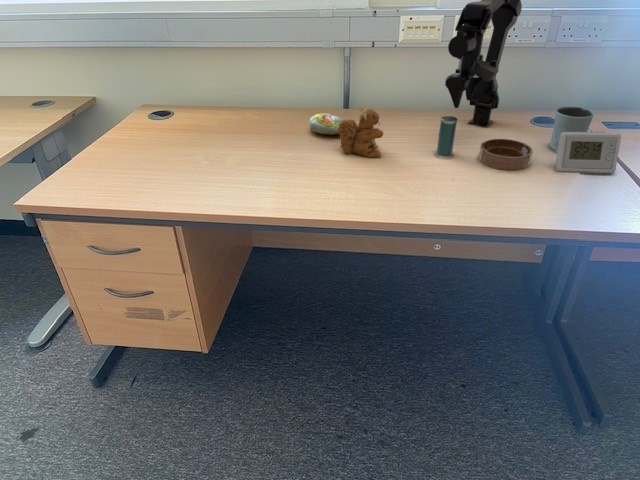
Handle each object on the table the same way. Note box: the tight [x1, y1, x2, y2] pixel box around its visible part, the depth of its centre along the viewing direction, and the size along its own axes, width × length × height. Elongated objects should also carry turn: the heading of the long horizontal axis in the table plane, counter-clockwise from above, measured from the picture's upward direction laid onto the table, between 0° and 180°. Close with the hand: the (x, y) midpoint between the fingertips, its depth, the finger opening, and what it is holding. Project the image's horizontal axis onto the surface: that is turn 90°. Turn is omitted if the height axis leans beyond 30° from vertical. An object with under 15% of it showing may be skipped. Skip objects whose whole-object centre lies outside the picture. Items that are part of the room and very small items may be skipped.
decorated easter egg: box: [308, 113, 343, 136], centre depth 157 cm, size 11×8×15 cm
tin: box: [436, 115, 459, 157], centre depth 137 cm, size 5×5×12 cm
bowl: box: [478, 138, 534, 172], centre depth 134 cm, size 14×14×4 cm
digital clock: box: [554, 131, 622, 175], centre depth 127 cm, size 16×9×11 cm, turn 72°
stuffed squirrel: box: [337, 108, 384, 158], centre depth 140 cm, size 10×14×13 cm
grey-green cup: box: [549, 105, 595, 152], centre depth 139 cm, size 10×10×12 cm
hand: (462, 103), depth 143 cm, fingers open, 9 cm apart
